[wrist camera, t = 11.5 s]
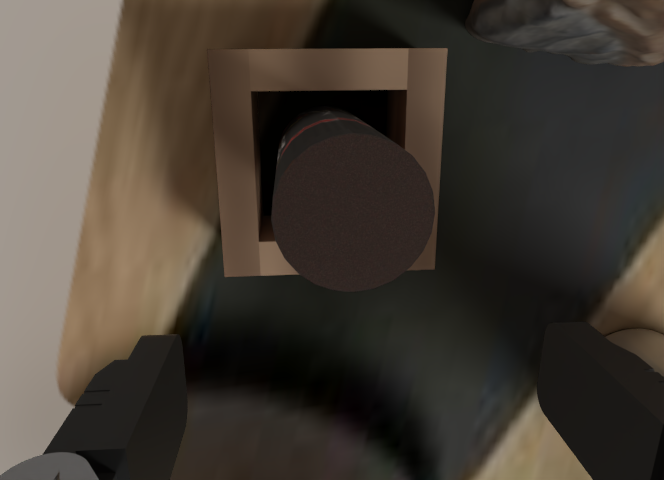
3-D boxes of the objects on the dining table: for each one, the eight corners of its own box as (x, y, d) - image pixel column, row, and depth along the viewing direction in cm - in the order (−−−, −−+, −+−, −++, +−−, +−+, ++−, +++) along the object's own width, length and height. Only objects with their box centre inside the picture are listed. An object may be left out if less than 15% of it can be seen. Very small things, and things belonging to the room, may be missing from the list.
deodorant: (275, 107, 32) (265, 135, 17) (371, 104, 32) (438, 129, 18) (280, 201, 33) (276, 296, 19) (371, 197, 34) (432, 287, 20)
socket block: (421, 52, 31) (447, 48, 26) (412, 240, 35) (434, 269, 30) (221, 53, 30) (207, 49, 25) (234, 245, 34) (224, 277, 29)
